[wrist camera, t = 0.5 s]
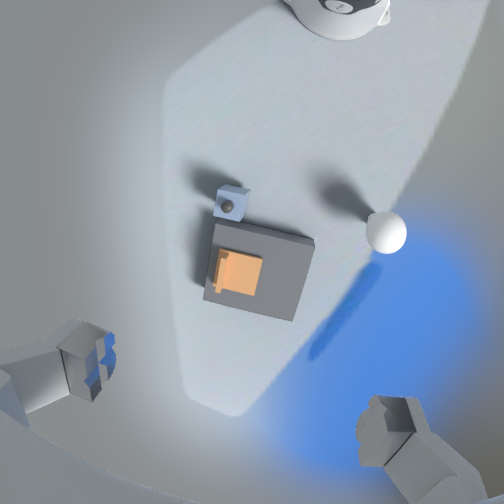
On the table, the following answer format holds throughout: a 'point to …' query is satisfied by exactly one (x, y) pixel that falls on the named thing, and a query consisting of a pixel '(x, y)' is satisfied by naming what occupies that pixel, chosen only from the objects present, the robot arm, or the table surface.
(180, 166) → the table surface
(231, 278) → the panel
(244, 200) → the plug
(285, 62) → the table surface
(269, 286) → the socket block
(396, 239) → the lightbulb
